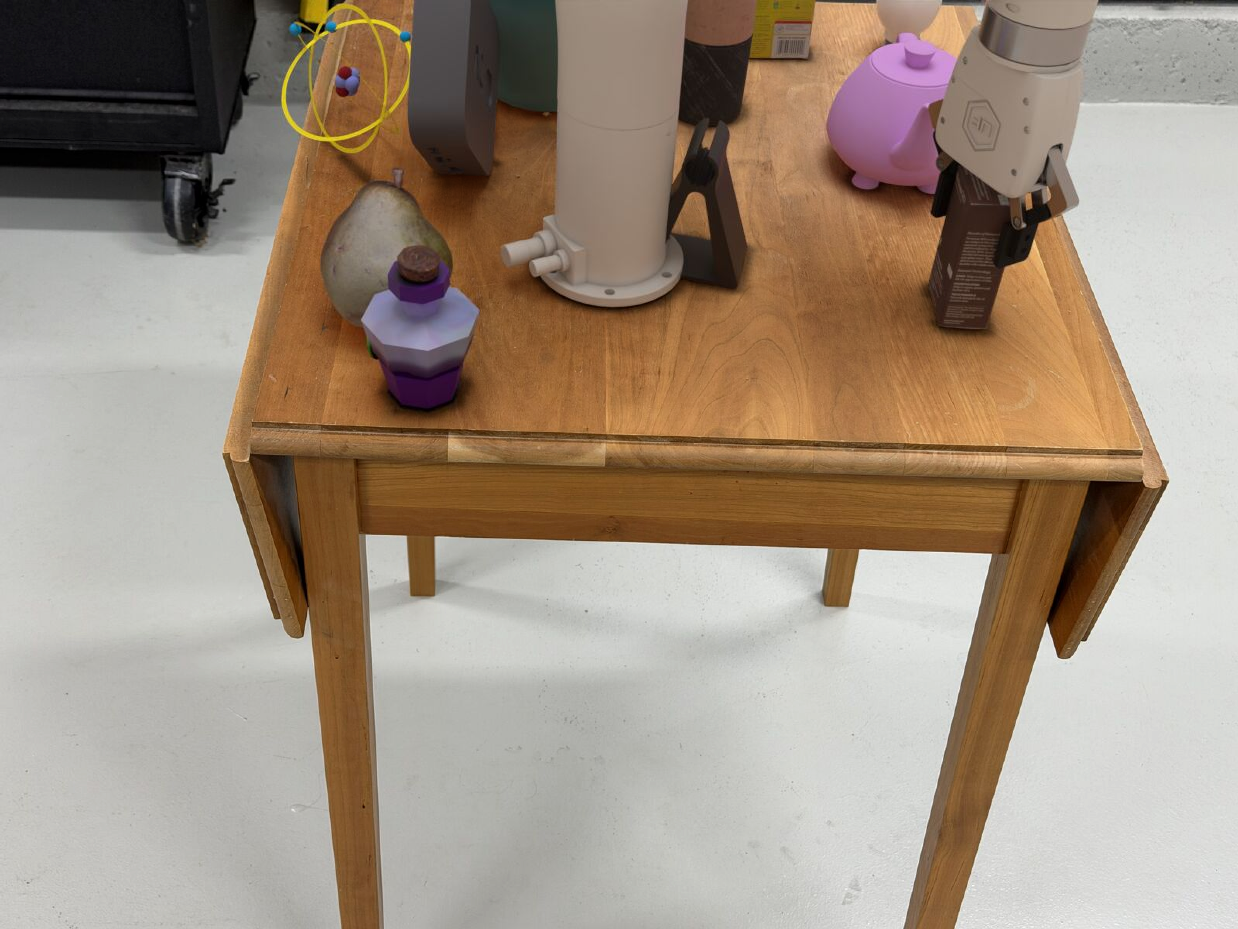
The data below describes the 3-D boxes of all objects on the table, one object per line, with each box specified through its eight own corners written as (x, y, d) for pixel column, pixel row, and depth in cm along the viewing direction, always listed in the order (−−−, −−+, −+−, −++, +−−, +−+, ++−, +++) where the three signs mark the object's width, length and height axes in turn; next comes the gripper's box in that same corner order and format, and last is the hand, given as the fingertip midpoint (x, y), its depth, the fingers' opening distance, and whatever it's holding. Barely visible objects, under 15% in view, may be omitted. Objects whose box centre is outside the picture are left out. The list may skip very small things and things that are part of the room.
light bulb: (931, 73, 148) (954, -28, 140) (867, 68, 148) (886, -33, 141) (926, 43, 153) (947, -56, 145) (864, 38, 153) (882, -61, 145)
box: (922, 286, 120) (957, 161, 112) (974, 290, 120) (1013, 166, 112) (933, 328, 115) (970, 201, 107) (987, 332, 115) (1028, 206, 107)
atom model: (272, -40, 126) (251, 103, 134) (292, 22, 115) (267, 175, 122) (420, -11, 132) (391, 125, 139) (452, 51, 121) (419, 195, 128)
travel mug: (745, 130, 137) (770, -72, 124) (667, 125, 137) (684, -77, 123) (741, 91, 143) (765, -106, 129) (666, 87, 143) (682, -111, 129)
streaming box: (446, 28, 131) (501, 29, 131) (437, 180, 130) (492, 182, 130) (411, -36, 117) (473, -35, 116) (401, 135, 116) (462, 136, 115)
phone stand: (747, 250, 122) (768, 128, 114) (736, 289, 118) (758, 165, 110) (646, 231, 123) (660, 108, 115) (632, 269, 119) (646, 144, 111)
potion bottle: (362, 359, 109) (351, 226, 101) (472, 349, 111) (470, 218, 103) (372, 430, 103) (361, 295, 95) (489, 419, 104) (488, 285, 96)
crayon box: (803, 46, 151) (820, -60, 143) (808, 59, 149) (825, -48, 141) (735, 45, 150) (748, -62, 142) (739, 58, 148) (752, -49, 140)
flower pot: (654, 60, 146) (667, -104, 135) (611, 145, 134) (621, -27, 122) (489, 32, 149) (487, -131, 137) (431, 113, 136) (424, -59, 125)
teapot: (984, 236, 126) (1019, 111, 117) (827, 225, 126) (850, 99, 117) (956, 123, 140) (985, 5, 132) (815, 113, 140) (835, -6, 132)
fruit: (458, 283, 116) (454, 156, 108) (448, 354, 110) (443, 225, 101) (334, 277, 116) (320, 150, 108) (316, 349, 109) (300, 218, 101)
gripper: (917, -11, 105) (875, 194, 117) (1078, 95, 94) (1014, 308, 106) (993, -28, 108) (945, 174, 120) (1159, 73, 97) (1087, 283, 109)
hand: (977, 235), depth 113 cm, fingers closed on box, 7 cm apart
